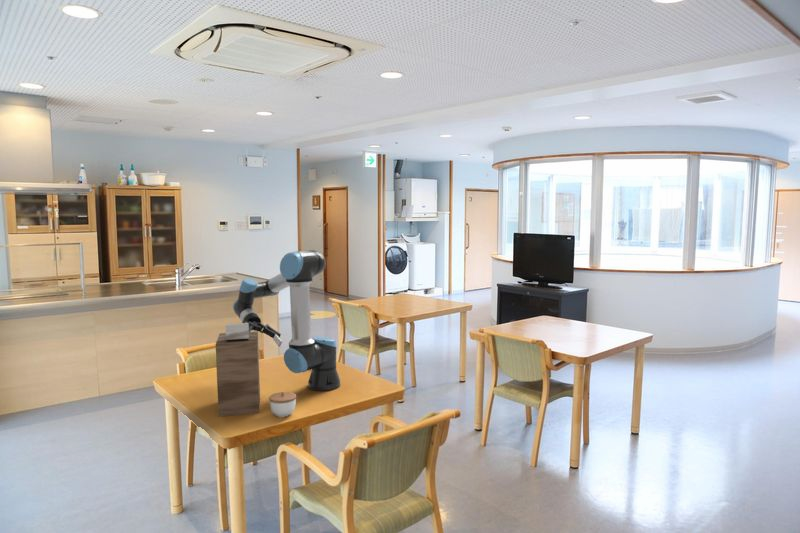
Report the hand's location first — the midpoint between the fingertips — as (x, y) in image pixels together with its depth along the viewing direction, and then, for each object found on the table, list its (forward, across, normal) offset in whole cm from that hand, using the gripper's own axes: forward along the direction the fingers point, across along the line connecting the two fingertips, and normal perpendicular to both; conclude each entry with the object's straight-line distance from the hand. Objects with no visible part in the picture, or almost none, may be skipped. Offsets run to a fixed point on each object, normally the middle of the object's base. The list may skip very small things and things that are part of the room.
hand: (268, 342), depth 245 cm
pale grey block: (0, +15, +1) cm, 15 cm away
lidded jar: (+33, +1, -15) cm, 37 cm away
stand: (+15, +10, -24) cm, 30 cm away
